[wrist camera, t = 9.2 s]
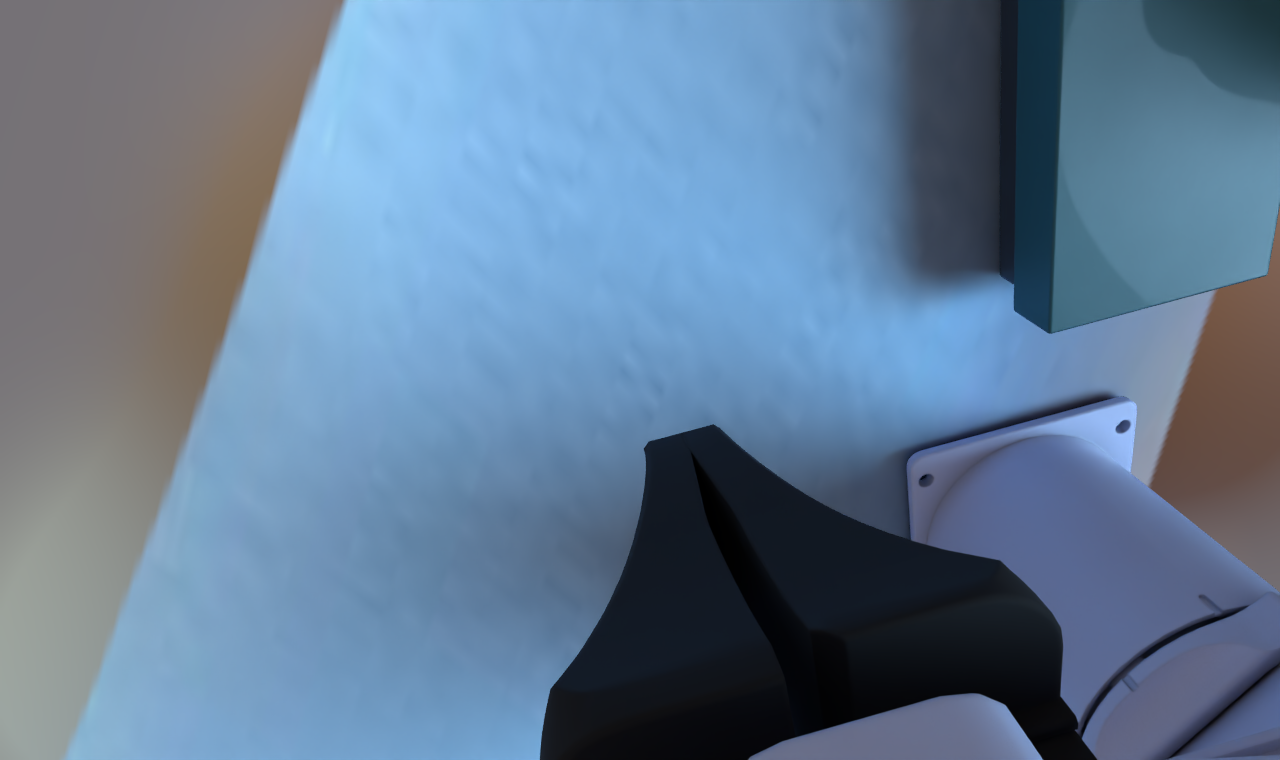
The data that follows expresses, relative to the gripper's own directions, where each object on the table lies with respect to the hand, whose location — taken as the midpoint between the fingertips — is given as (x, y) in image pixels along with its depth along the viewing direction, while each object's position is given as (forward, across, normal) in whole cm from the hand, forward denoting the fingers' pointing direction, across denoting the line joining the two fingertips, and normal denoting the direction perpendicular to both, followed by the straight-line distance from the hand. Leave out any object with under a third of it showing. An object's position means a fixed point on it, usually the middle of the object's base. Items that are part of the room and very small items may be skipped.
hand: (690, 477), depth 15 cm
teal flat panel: (+9, -14, -3) cm, 17 cm away
